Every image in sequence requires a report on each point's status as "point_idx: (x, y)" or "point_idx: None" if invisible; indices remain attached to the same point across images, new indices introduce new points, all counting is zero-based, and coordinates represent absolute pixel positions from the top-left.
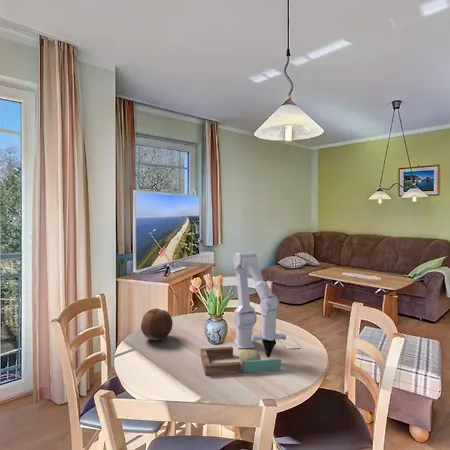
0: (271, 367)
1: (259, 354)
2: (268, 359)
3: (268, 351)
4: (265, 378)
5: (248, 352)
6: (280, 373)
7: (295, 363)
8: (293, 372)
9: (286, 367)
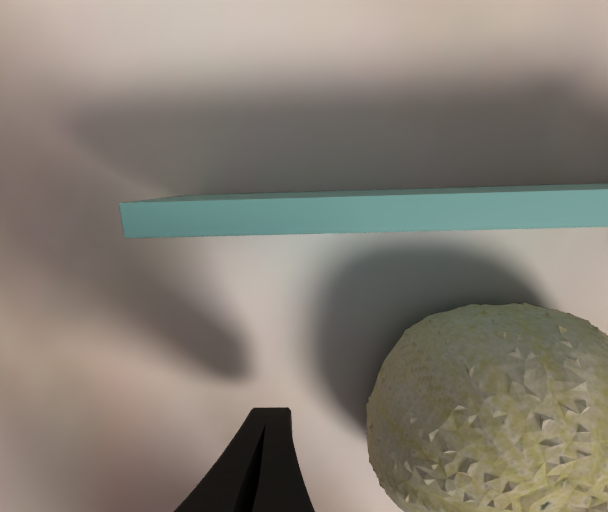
0: (300, 193)
1: (394, 450)
2: (346, 229)
3: (270, 467)
4: (433, 8)
5: (606, 481)
6: (215, 114)
7: (2, 311)
8: (58, 120)
9: (115, 241)
